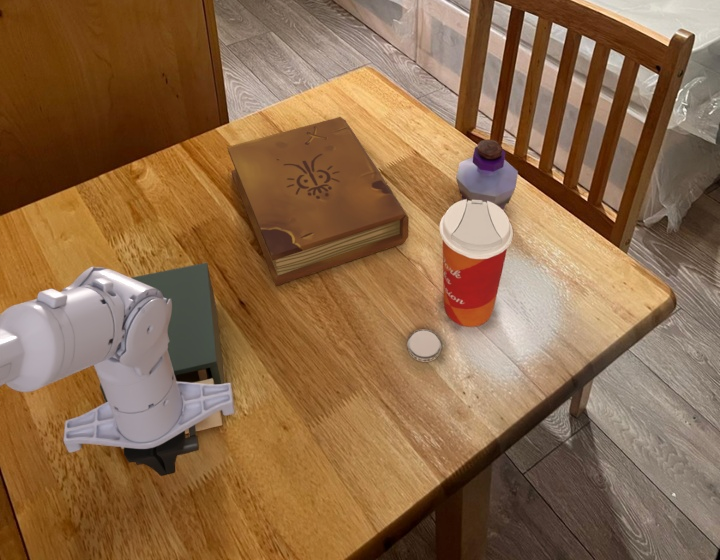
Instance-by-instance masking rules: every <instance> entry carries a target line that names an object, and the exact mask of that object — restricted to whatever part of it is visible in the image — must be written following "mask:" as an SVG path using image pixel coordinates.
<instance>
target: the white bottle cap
mask: <svg viewBox="0 0 720 560" xmlns="http://www.w3.org/2000/svg"><path fill="white" fill-rule="evenodd" d="M406 345H407V346H406V349H407V352H408V353H409V355H410V356H411V357H412V358H413V359H414V360H416V361H418V362H423V363H427V362H428V363H429V362H432V361H434V360H436V359H438V357H439V356H440V355H441V352H442V340H441V338H440V336H439V335H438V334H437V333H436V332H434V330H431V329H427V328H421V329H416V330H414V331H413V332H411V333H410V334H409V336H408V338H407V342H406Z"/></svg>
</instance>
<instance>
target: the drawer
mask: <svg viewBox="0 0 720 560" xmlns="http://www.w3.org/2000/svg"><path fill="white" fill-rule="evenodd" d="M175 378H176V381H177V382H188V383H199V384H212V385H214V381H213V378H212V379H211V370H210V368H206V369H201V370H197V371H192V372H188V373H184V374H179V375H175ZM220 426H223V414H222V410H220V411H218V412H216V413H214V414H212V415H210V416H209V417H207V418H205V419H204V420H202V421H200V422H199V423H197V424H195V425H193V426H192V427H190V428H188V429H187V430H185V435H187V434H188V435H189V436H185V444H184V448H183V450H181V451H180V452H179V454H178V455H177V457H178V456H182V455H185V454H191V453H194V452H197V451H199V450H200V441H199V440H200V439H199V435H198V434H197V432H199V431H204V430H207V429H208V430H209V429H212V428H216V427H220ZM120 449H121V450H124V447H120ZM135 465H136V466H141V465H142V464H141V463H135Z"/></svg>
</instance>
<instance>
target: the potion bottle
mask: <svg viewBox="0 0 720 560" xmlns="http://www.w3.org/2000/svg"><path fill="white" fill-rule="evenodd" d="M518 174H519V171H518V170H517V169H516V168H515V167H514V166H513V165H511V164H510V163H509V162H508V161H507V160H506V151H505V150H504V149H503V146H502V145H501V144H500V143H499V142H498V140H494V139H489V138H488V139H483V140H481V141H479V142H478V143H477V146H475V147H474V149H473V154H472V156H471V157H468V158H467V159H464V160H462V161H459V165H458V169H457V172H456V177H455V178H456V182H457V188H458V193H459V195H461V200H465V199H467V202H468V201H472V200H482V202H486V203H487V201H489V202H492V203H494V204H496V205H497V206H499V207H500V208H501V209H502V210H503V211H504V209H505V207H506V206H507V204H509V203H510V201H511V198H512V197H513V194H514V192H515V189H516V187H517V180H518Z"/></svg>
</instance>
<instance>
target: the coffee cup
mask: <svg viewBox="0 0 720 560" xmlns="http://www.w3.org/2000/svg"><path fill="white" fill-rule="evenodd" d="M439 235H440V238H441V240H442V285H443V286H442V288H443V289H442V290H443V291H442V292H443V306H444V311H445V313H446V315H447V316H448V318H449V319H450V320H451V321H452V322H453V323H455V324H457V325H459V326H462V327H467V328H474V327H480V326H482V325H484V324H485V323H487V322H488V321H489V320H490V318H491V316H492V315H493V313H494V312H493V311H494V308H495V304H496V300H497V296H498V291H499V287H500V283H501V279H502V273H503V270H504V264H505V260H506V255H507V252H508V248H509V247H510V246H511V243H512V241H513V237H514V230H513V225H512V224H511V222H510V219H509V217H508V214H507V213H506V212H505V211H504V210H502V209H501V208H500V207H499V206H497V205H496V204H494V203H492V202H489V201H487V203H486V202H482V200H472V201H468V202H467V199H465V200H463V199H460V200H459V201H457V202H455V203H453V204H451V206H450V207H449V208H448V209H447V211H445V213H444V214H443V216H442V217H441V219H440V221H439Z"/></svg>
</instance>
